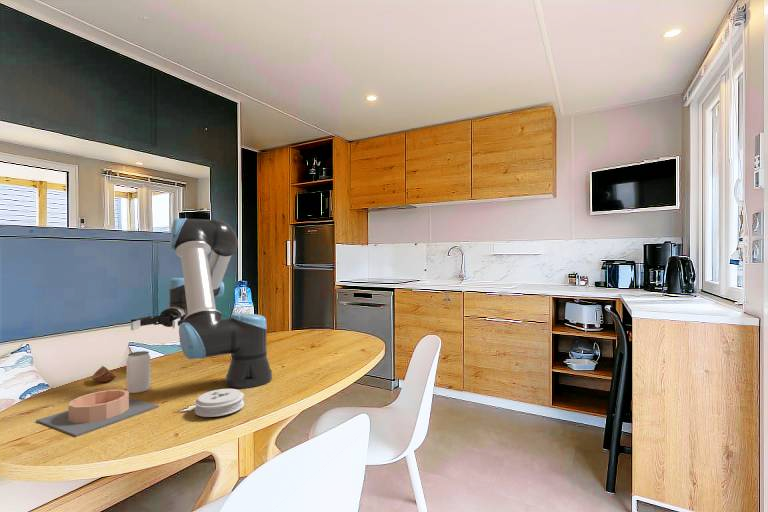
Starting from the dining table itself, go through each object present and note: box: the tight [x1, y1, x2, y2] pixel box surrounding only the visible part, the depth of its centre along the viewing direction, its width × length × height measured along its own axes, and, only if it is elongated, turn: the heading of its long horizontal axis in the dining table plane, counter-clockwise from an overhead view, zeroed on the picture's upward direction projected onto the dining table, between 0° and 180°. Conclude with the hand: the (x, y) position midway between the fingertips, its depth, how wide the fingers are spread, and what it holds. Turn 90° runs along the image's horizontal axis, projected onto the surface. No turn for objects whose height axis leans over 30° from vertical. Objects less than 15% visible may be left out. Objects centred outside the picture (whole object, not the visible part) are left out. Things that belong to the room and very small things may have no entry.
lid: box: [194, 388, 245, 418], centre depth 104 cm, size 13×13×5 cm
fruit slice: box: [91, 365, 117, 383], centre depth 130 cm, size 8×7×5 cm
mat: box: [35, 397, 160, 437], centre depth 103 cm, size 20×20×1 cm
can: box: [126, 350, 151, 394], centre depth 121 cm, size 6×6×12 cm
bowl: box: [67, 389, 130, 423], centre depth 103 cm, size 13×13×4 cm
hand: (153, 325), depth 135 cm, fingers open, 13 cm apart
